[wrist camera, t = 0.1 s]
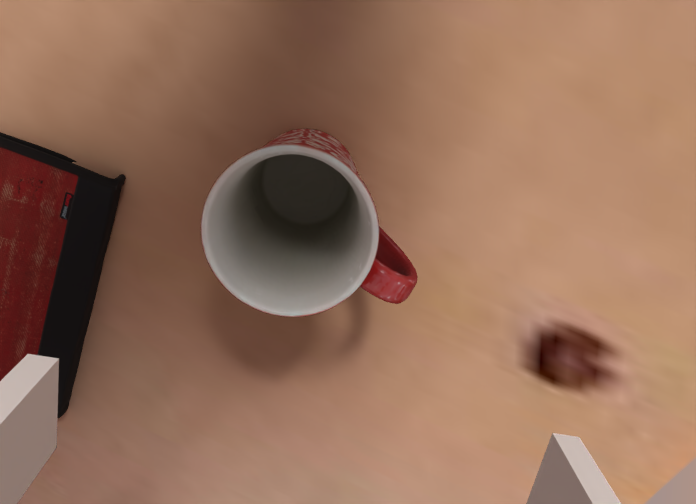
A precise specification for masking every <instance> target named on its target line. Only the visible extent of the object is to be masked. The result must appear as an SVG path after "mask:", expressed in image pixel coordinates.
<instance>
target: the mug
mask: <svg viewBox="0 0 696 504" xmlns="http://www.w3.org/2000/svg"><path fill="white" fill-rule="evenodd" d="M201 239H202V246H203V251H204V253H205V256H206V259H207V261H208V264H209V266H210V268H211V269H212V271H213V273H214V274H215V276H216V278H217V279H218V280H219V281H220V283H221V284H222V285H223V286H224V287H225V288H226V289H227V290H228V291H229V292H230V293H231V294H232V295H233V296H234V297H235V298H237V299H238V300H240V301H241V302H243V303H245V304H246V305H248V306H250V307H252V308H254V309H256V310H259V311H262V312H265V313H268V314H272V315H277V316H283V317H302V316H309V315H314V314H318V313H321V312H323V311H326V310H329V309H331V308H333V307H335V306H336V305H338V304H340V303H341V302H343V301H344V300H345V299H347V298H348V297H349V296H351V295H352V294H353V293H354V292H355V291H356V290H357V289H358V288H359V287H361V288H363V289H364V290H366V291H367V292H369V293H370V294H372V295H374V296H376V297H378V298H379V299H382V300H384V301H386V302H390V303H395V304H398V303H401V302H403V301H404V300H405V299H407V297H408V296H409V295H410V293H411V292H412V290H413V288H414V287H415V285H416V283H417V273H416V270H415V268H414V267H413V265H412V263H411V262H410V260H409V259H408V257H407V256H406V255H405V254H404V252H403V251H402V250H401V249H400V248H399V247H398V245H397V244H396V243H395V242H394V241H393V240H392V239H391V238H390V237H389V236H388V235H387V234H386V233H385V232H384V231H383V230H382V229H381V228H380V227H379V220H378V215H377V211H376V207H375V204H374V201H373V199H372V197H371V195H370V193H369V191H368V189H367V187H366V186H365V184H364V182H363V181H362V180H361V179H360V177H359V175H358V172H357V170H356V167H355V164H354V162H353V160H352V158H351V156H350V154H349V152H348V151H347V150H346V148H345V147H344V146H343V145H342V144H341V143H340V142H339V141H338V140H337V139H335V138H334V137H332V136H330V135H329V134H327V133H324V132H322V131H318V130H313V129H296V130H291V131H288V132H286V133H283V134H281V135H279V136H278V137H276V138H275V139H273V140H271V141H270V142H269V143H267V144H266V145H265V146H263V147H262V148H259V149H256V150H254V151H252V152H250V153H248V154H246V155H244V156H242V157H241V158H239V159H238V160H236V161H235V162H233V163H232V164H231V165H230V166H229V167H228V168H227V169H226V170H224V171H223V173H222V174H221V175H220V176H219V177H218V178H217V180H216V181H215V183H214V184H213V186H212V188H211V189H210V192H209V194H208V196H207V198H206V201H205V204H204V208H203V212H202V218H201Z"/></svg>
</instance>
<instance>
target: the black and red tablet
mask: <svg viewBox="0 0 696 504" xmlns="http://www.w3.org/2000/svg"><path fill="white" fill-rule="evenodd" d="M72 162H76V161H74V160H72V159H70V158H68V157H66V156H64V155H62V154H59V153H56V152H54V151H51V150H49V149H46V148H43V147H40V146H38V145H35V144H32V143H29V142H26V141H23V140H20V139H18V138H15V137H12V136H9V135H6V134H3V133H0V381H1V380H2V379H3V378H4V377H5V376H6V375H7V374H8V373H9V372H10V371H11V370H12V369H13V368H14V367H15V366H16V365H17V364H18V363H19V362H20V361H21V360H22V359H23V358H24V357H25V356H26V355H27V354H33V355H39V356H46V357H52V358H59V378H58V414H57V418H60V417H61V416H62V415H63V414H64V413H65V412H66V410H67V408H68V405H69V400H70V397H71V392H72V388H73V384H74V380H75V377H76V373H77V369H78V365H79V361H80V356H81V352H82V347H83V342H84V338H85V335H86V331H87V327H88V324H89V320H90V316H91V312H92V308H93V304H94V300H95V295H96V291H97V287H98V282H99V278H100V274H101V270H102V264H103V260H104V256H105V252H106V249H107V245H108V242H109V238H110V234H111V230H112V226H113V222H114V218H115V214H116V210H117V205H118V201H119V197H120V192H121V187H122V185H123V184H124V181H125V179H126V177H125V175H124V174H121V175H120V176H119V177H118V178H115V179H111V178H108V177H105V176H102V175H100V174H98V173H95V172H93V171H90V170H88V169H85V168H83V167H81V166H78V165H76V164H73V163H72Z"/></svg>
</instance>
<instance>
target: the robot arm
mask: <svg viewBox="0 0 696 504" xmlns="http://www.w3.org/2000/svg"><path fill="white" fill-rule="evenodd" d="M58 378H59V358H52V357H46V356H39V355H33V354H27V355H26V356H25V357H24V358H23V359H22V360H21V361H20V362H19V363H18V364H17V365H16V366H15V367H14V368H13V369H12V370H11V371H10V372H9V373H8V374H7V375H6V376H5V377H4V378H3V379H2V380H1V381H0V504H17V503H18V502H19V500H20V499H21V498H22V496H23V495H24V493H25V492H26V490H27V489H28V488H29V486H30V485H31V483H32V482H33V480H34V479H35V477H36V476H37V475H38V473H39V472H40V470H41V469H42V467H43V466H44V465H45V463H46V462H47V460H48V459H49V457H50V456H51V455H52V453H53V452H54V450H55V449H56V447H57V414H58ZM526 504H621V503H620V501H619V499H618V498H617V496H616V495H615V493H614V491H613V490H612V488H611V487H610V485H609V484H608V482H607V480H606V479H605V477H604V476H603V474H602V472H601V471H600V469H599V468H598V466H597V465H596V463H595V461H594V460H593V458H592V457H591V455H590V453H589V452H588V450H587V449H586V447H585V445H584V444H583V442H582V441H581V439H580V438H579V437H575V436H569V435H562V434H556V433H552V436H551V439H550V441H549V444H548V447H547V449H546V452H545V455H544V457H543V460H542V463H541V466H540V468H539V471H538V474H537V476H536V479H535V482H534V485H533V487H532V490H531V493H530V495H529V498H528V501H527V503H526Z"/></svg>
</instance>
